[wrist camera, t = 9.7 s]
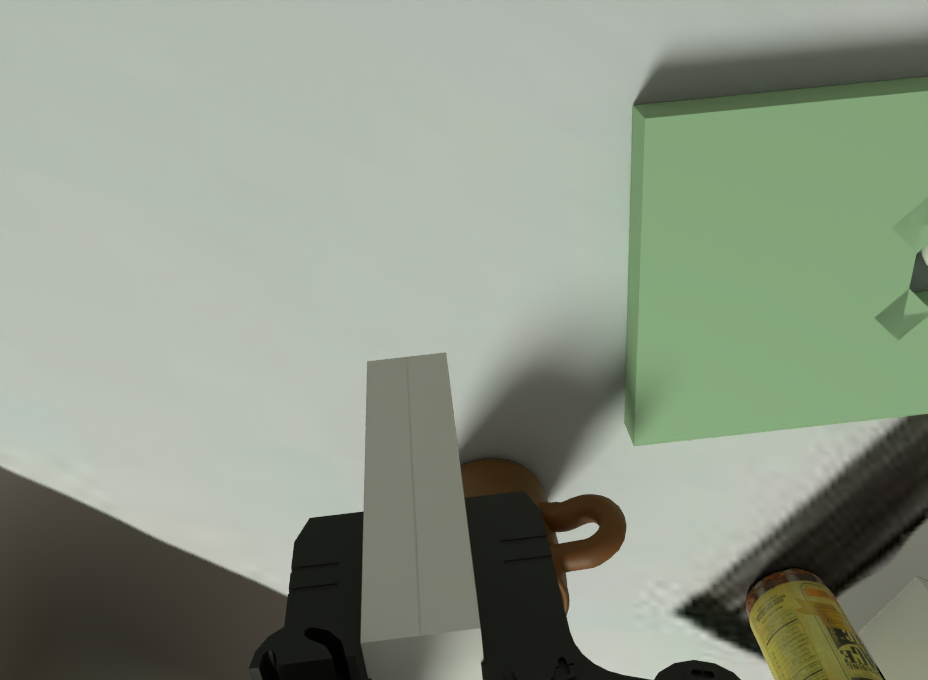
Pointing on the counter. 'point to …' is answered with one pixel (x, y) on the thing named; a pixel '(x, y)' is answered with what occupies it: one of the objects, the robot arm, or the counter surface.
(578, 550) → the mug
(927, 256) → the ball
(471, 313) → the counter surface
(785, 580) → the sauce bottle
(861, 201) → the green
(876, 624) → the paper towel holder
